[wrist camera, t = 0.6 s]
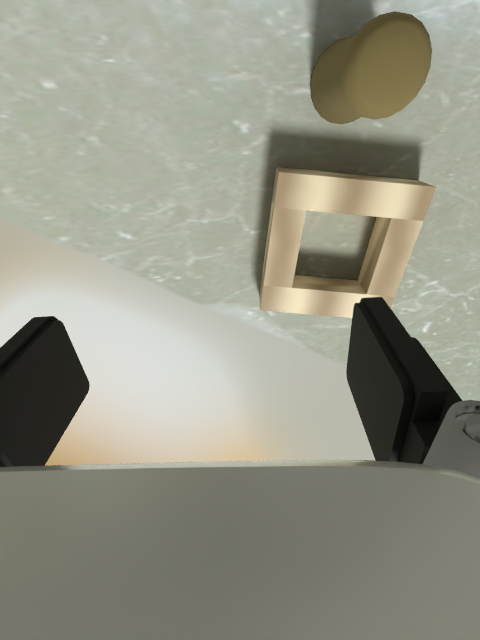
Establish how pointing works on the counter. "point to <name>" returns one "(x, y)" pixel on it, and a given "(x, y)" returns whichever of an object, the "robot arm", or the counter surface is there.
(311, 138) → the counter surface
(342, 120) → the cork
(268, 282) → the socket block
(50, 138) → the counter surface
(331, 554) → the robot arm
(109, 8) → the counter surface
